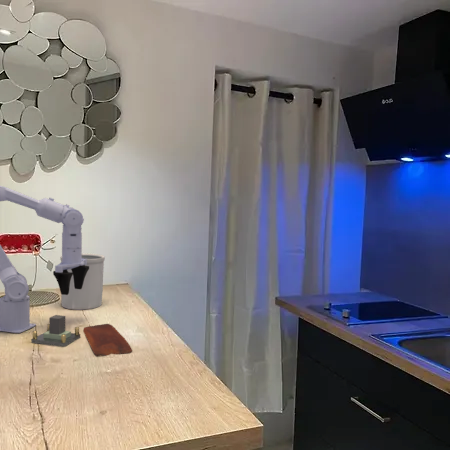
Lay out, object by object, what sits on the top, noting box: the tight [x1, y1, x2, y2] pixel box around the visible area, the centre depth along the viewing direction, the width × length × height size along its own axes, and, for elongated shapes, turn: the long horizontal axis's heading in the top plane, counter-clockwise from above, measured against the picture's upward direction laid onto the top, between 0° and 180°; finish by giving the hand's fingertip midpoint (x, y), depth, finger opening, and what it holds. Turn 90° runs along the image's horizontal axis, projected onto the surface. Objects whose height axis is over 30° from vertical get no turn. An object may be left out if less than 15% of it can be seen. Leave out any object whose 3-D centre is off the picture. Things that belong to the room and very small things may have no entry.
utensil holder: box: [59, 252, 106, 311], centre depth 166 cm, size 15×15×18 cm
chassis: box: [30, 323, 81, 348], centre depth 130 cm, size 10×8×3 cm
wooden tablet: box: [82, 323, 133, 358], centre depth 133 cm, size 27×10×2 cm, turn 25°
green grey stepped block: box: [42, 314, 72, 340], centre depth 130 cm, size 6×4×6 cm, turn 76°
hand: (71, 291), depth 145 cm, fingers open, 7 cm apart
